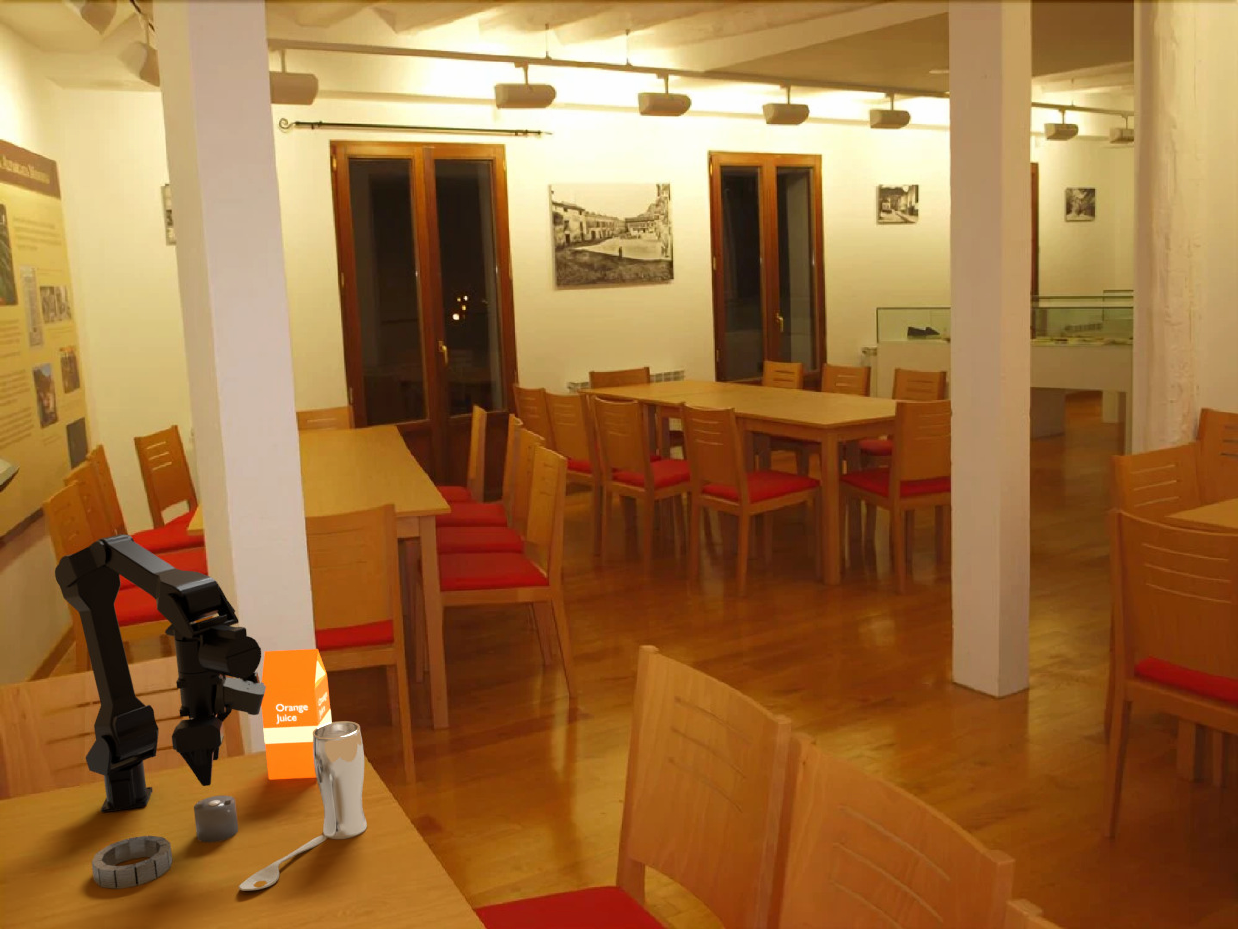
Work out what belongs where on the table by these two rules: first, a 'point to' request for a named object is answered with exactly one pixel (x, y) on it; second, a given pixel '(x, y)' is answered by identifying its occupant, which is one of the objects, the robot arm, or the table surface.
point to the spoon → (276, 867)
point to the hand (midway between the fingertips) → (210, 772)
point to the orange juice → (293, 710)
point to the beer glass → (340, 777)
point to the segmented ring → (134, 873)
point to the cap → (216, 818)
